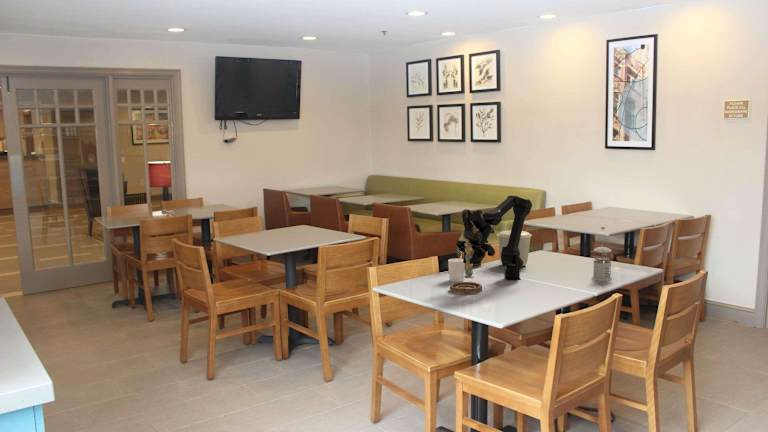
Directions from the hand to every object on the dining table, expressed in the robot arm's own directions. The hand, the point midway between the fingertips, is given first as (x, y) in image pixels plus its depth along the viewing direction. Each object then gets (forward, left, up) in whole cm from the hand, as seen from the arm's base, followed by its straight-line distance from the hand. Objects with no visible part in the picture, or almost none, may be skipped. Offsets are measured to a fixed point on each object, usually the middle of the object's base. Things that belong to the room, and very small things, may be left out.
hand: (466, 263), depth 296 cm
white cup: (+1, -23, -13) cm, 26 cm away
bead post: (-1, -1, -7) cm, 7 cm away
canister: (-34, -53, -13) cm, 64 cm away
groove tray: (0, -2, -13) cm, 13 cm away
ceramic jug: (-12, -59, -13) cm, 61 cm away
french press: (-68, -18, -13) cm, 71 cm away
